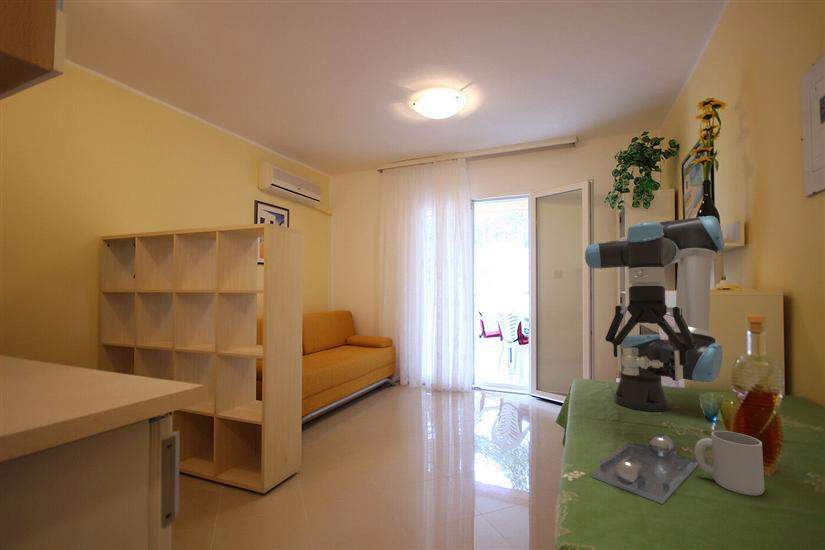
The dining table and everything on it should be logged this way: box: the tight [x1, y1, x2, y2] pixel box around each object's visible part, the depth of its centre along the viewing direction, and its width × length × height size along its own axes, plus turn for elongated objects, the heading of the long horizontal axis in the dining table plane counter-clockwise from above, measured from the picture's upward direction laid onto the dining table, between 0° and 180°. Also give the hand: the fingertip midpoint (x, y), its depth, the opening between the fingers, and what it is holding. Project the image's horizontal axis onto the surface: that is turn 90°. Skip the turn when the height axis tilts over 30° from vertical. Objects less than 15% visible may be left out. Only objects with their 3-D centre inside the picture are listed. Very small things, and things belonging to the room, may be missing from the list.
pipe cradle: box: [590, 433, 699, 505], centre depth 74 cm, size 23×12×5 cm, turn 130°
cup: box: [693, 430, 765, 497], centre depth 69 cm, size 7×10×9 cm
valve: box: [621, 347, 679, 382], centre depth 88 cm, size 7×7×12 cm
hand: (648, 374), depth 87 cm, fingers closed on valve, 12 cm apart
